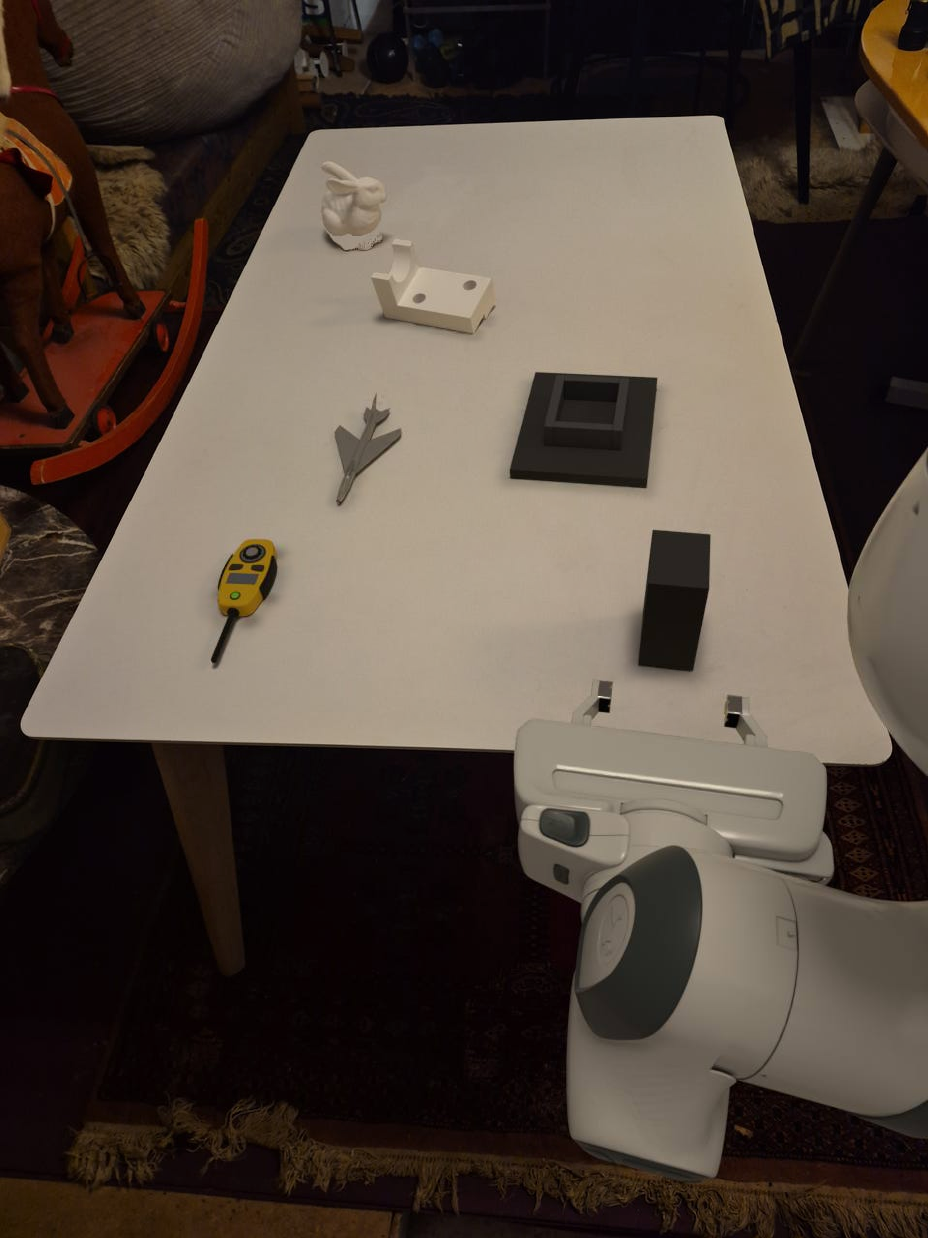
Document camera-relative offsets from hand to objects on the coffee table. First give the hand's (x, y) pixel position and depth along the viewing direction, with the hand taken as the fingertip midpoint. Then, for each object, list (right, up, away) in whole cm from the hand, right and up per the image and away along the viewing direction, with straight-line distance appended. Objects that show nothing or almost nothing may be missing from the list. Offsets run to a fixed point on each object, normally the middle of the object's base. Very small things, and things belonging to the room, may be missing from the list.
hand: (668, 692), depth 62 cm
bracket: (-18, +45, +51) cm, 71 cm away
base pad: (-1, +26, +32) cm, 41 cm away
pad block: (+3, +3, +12) cm, 12 cm away
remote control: (-36, +6, +19) cm, 41 cm away
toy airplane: (-26, +25, +34) cm, 49 cm away
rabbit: (-30, +62, +67) cm, 96 cm away
